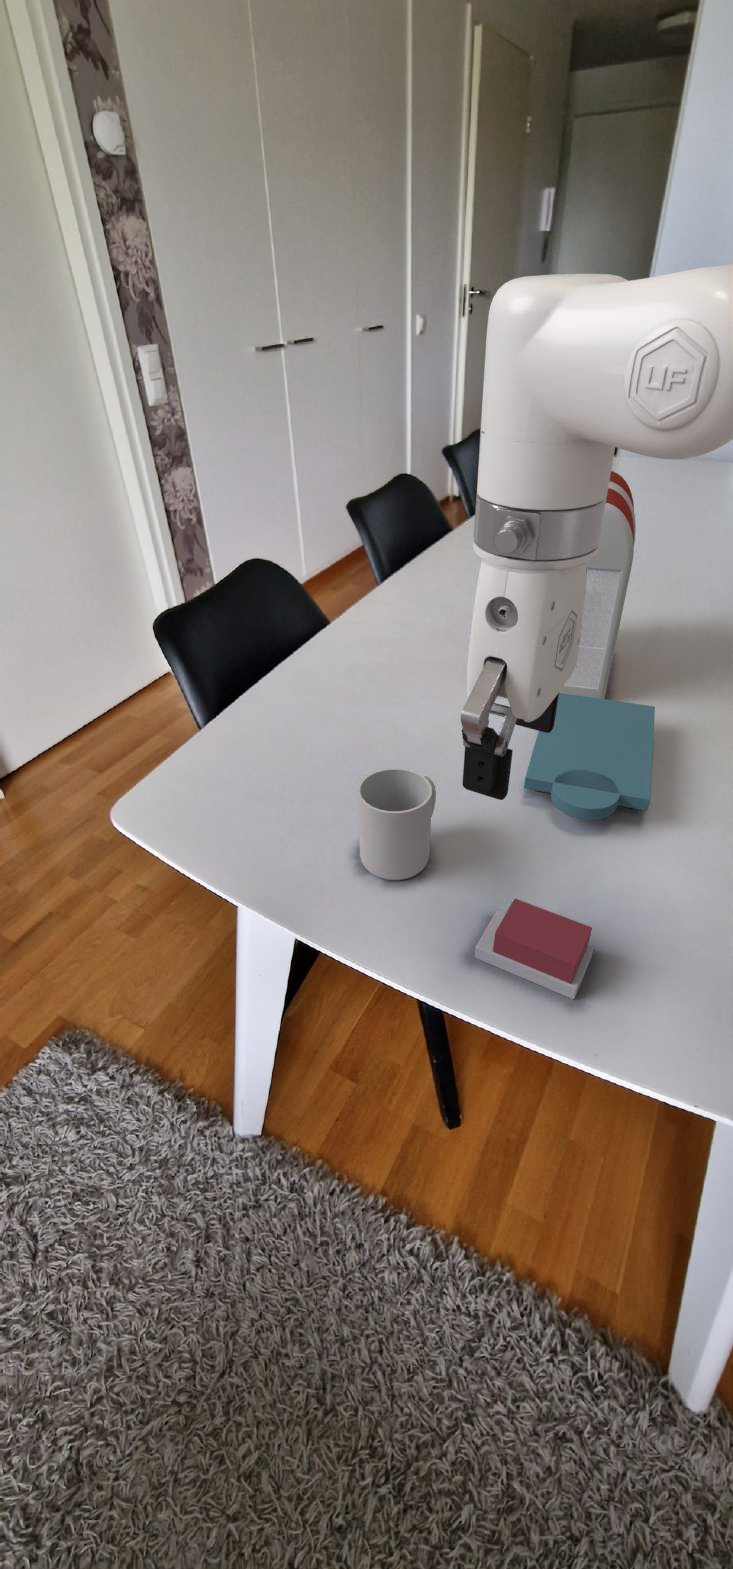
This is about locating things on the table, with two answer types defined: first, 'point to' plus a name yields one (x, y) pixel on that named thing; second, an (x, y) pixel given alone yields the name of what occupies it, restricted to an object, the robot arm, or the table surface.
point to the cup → (395, 822)
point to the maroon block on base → (537, 947)
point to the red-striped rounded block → (605, 593)
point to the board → (595, 757)
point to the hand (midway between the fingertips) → (510, 757)
